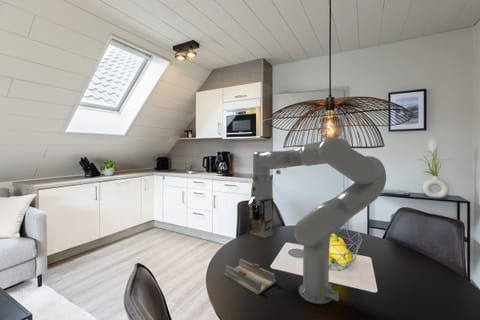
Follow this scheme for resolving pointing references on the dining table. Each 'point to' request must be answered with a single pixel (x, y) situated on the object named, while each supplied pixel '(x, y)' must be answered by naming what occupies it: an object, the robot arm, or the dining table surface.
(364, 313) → the dining table surface
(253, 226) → the coffee box
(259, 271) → the rail
